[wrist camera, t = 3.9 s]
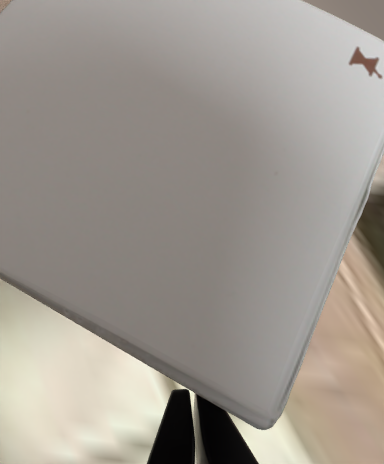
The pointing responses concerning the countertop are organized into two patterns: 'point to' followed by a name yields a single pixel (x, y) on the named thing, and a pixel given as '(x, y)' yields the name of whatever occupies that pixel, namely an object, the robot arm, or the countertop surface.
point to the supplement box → (187, 178)
